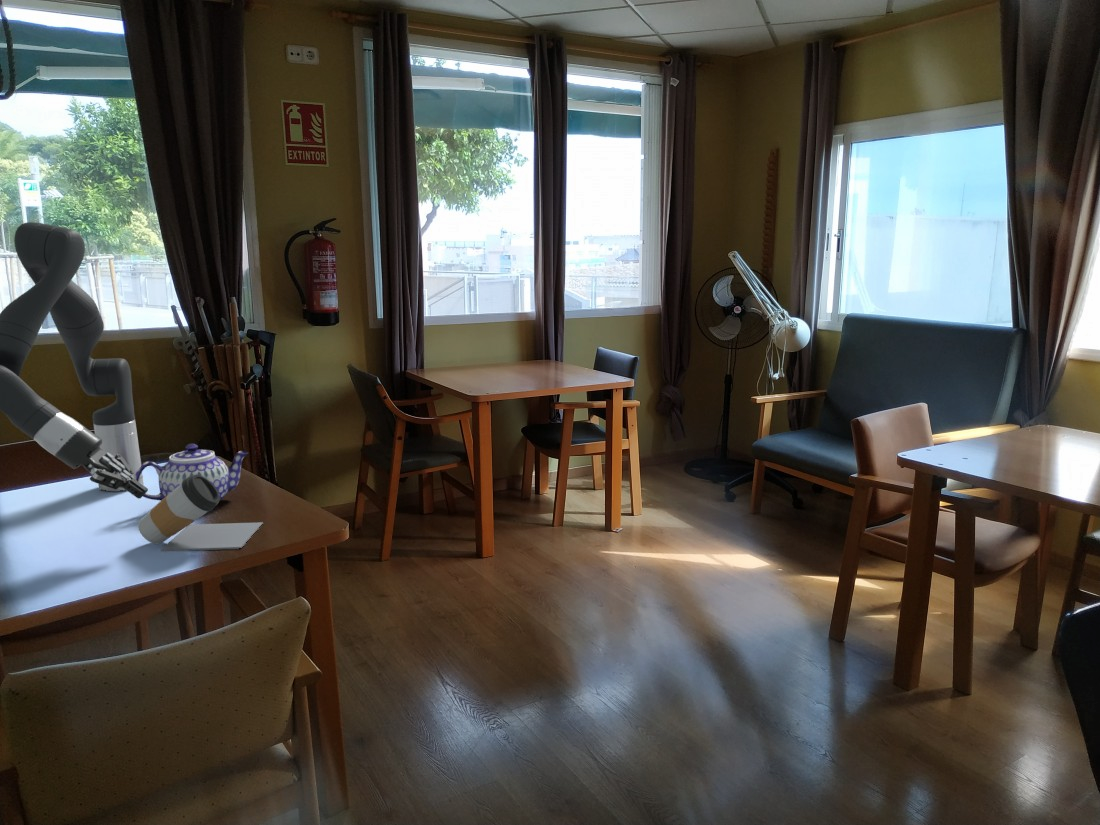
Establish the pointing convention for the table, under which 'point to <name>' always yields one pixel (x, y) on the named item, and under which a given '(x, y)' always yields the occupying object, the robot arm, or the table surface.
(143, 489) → the robot arm
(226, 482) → the teapot
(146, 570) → the table surface
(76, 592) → the table surface
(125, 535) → the table surface
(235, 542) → the mat
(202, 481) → the coffee cup
